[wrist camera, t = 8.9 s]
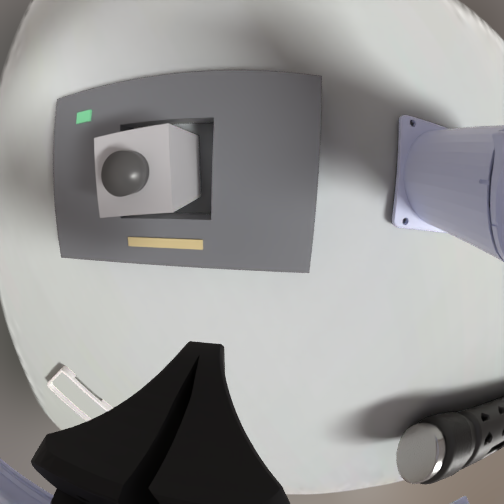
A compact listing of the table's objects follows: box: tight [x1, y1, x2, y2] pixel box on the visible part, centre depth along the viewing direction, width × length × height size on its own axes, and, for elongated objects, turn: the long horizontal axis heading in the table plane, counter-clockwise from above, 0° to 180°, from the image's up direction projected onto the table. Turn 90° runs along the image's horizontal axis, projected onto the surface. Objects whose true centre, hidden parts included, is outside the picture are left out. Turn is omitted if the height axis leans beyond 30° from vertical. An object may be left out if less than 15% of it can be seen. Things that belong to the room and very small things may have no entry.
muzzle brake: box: [397, 397, 504, 484], centre depth 20 cm, size 10×28×10 cm, turn 80°
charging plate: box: [53, 70, 322, 273], centre depth 16 cm, size 18×12×2 cm, turn 88°
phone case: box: [47, 366, 113, 421], centre depth 26 cm, size 7×1×15 cm
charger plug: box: [94, 123, 201, 218], centre depth 13 cm, size 4×4×7 cm
